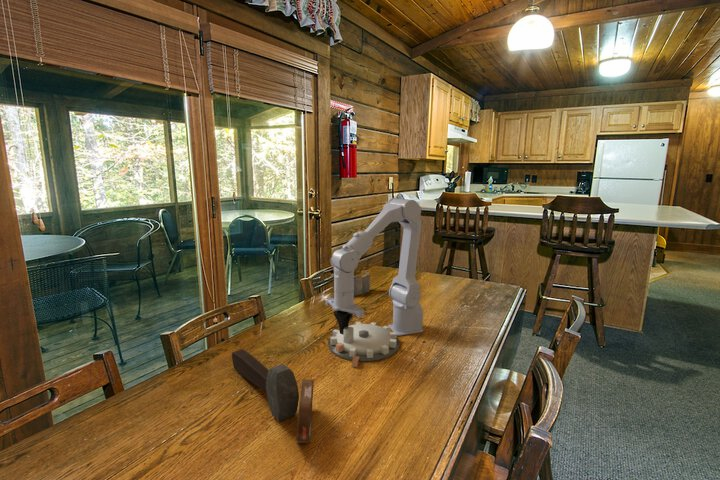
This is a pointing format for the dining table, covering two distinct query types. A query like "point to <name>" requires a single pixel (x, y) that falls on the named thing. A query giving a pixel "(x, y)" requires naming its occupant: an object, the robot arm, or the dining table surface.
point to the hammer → (270, 383)
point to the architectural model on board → (362, 283)
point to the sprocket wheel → (364, 339)
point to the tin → (305, 412)
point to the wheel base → (362, 358)
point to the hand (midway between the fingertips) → (344, 333)
